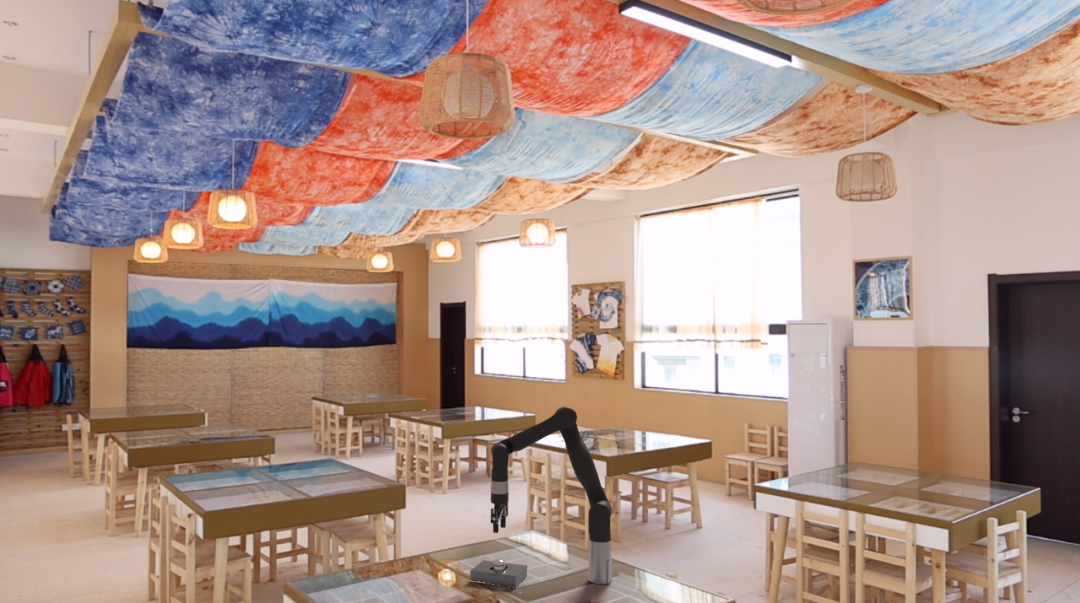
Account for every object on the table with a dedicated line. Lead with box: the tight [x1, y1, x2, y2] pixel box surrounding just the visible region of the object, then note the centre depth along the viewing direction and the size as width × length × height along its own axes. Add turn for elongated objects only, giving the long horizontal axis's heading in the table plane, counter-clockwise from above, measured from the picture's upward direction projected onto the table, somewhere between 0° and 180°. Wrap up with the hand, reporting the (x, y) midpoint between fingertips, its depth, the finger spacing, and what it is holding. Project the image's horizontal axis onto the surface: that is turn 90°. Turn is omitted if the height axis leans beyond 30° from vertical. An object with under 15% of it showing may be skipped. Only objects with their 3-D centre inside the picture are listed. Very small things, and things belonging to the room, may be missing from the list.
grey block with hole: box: [469, 560, 528, 589], centre depth 313 cm, size 20×14×5 cm
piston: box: [493, 558, 506, 571], centre depth 314 cm, size 5×5×8 cm
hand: (499, 530), depth 314 cm, fingers open, 8 cm apart
